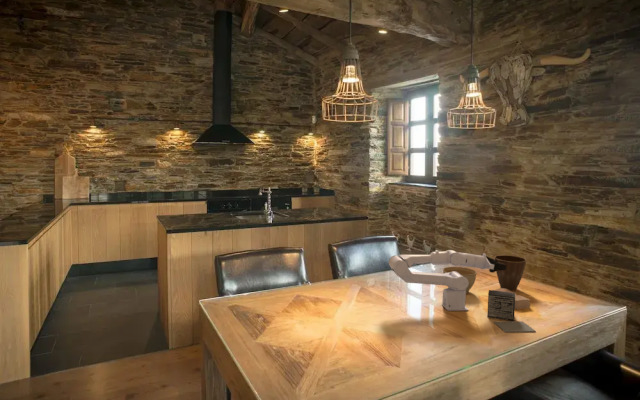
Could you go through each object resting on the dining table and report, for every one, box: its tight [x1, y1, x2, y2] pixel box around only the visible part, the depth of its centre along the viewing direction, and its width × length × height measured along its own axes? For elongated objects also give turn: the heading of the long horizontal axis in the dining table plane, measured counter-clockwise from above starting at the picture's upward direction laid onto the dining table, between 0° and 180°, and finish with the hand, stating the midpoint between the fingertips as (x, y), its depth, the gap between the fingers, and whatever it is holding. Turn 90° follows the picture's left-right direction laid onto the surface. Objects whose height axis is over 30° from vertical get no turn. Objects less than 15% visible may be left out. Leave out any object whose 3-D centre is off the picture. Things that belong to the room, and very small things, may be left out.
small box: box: [486, 289, 516, 321], centre depth 177 cm, size 11×6×10 cm, turn 65°
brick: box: [493, 287, 531, 310], centre depth 195 cm, size 17×8×5 cm, turn 19°
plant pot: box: [494, 254, 527, 292], centre depth 216 cm, size 15×15×16 cm
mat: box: [493, 320, 536, 333], centre depth 166 cm, size 12×10×1 cm
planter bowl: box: [442, 266, 478, 294], centre depth 210 cm, size 16×16×11 cm
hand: (501, 265), depth 187 cm, fingers open, 7 cm apart
